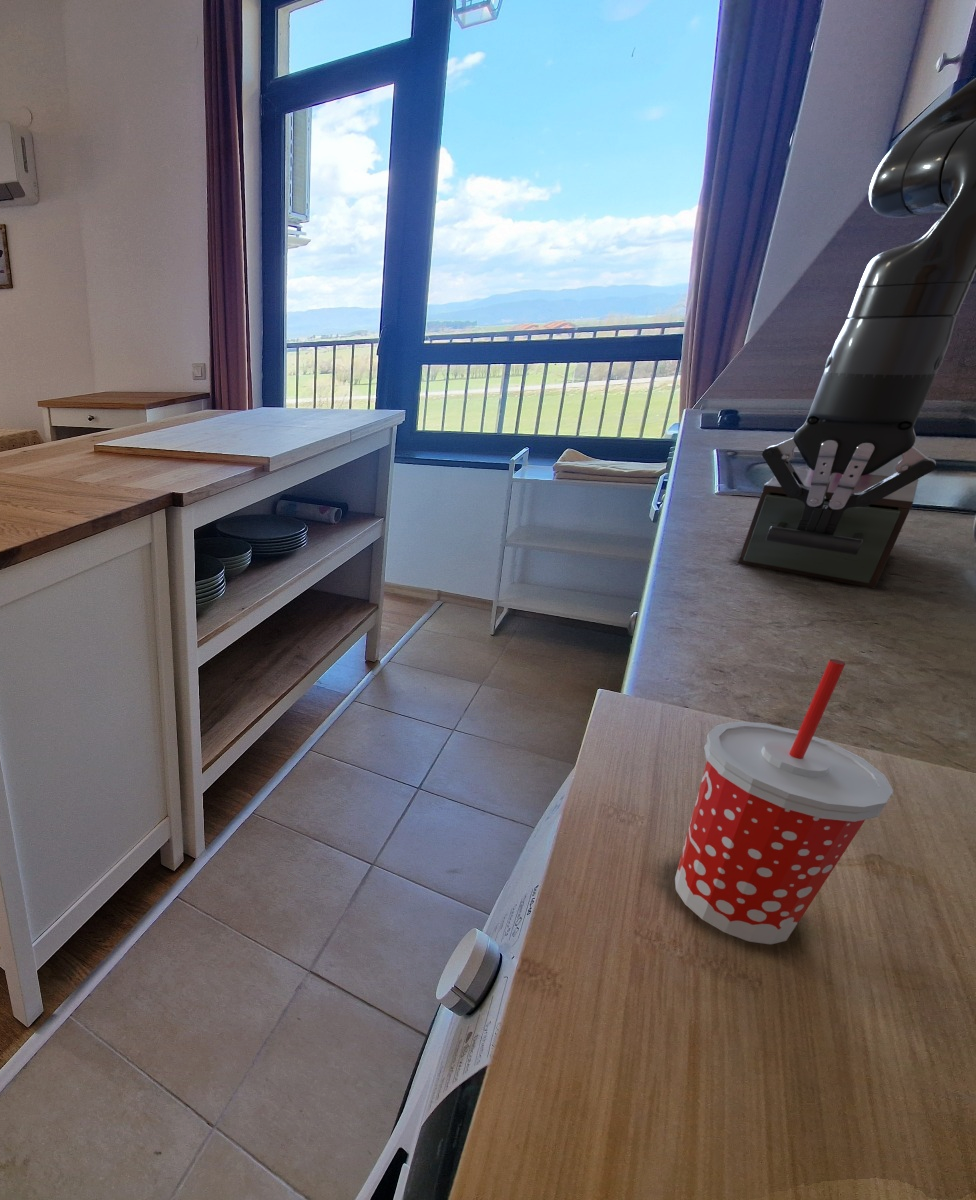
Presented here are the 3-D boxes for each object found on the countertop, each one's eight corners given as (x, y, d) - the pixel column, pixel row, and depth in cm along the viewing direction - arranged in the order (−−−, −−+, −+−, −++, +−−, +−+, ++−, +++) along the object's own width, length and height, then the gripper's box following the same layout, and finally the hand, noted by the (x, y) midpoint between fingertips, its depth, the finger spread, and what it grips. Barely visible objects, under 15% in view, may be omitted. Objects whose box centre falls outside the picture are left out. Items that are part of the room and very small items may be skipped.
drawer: (864, 598, 63) (896, 524, 60) (732, 572, 70) (755, 505, 67) (878, 554, 75) (906, 489, 72) (764, 536, 82) (785, 477, 79)
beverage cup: (702, 844, 35) (790, 620, 30) (842, 931, 30) (980, 679, 25) (629, 879, 33) (710, 645, 28) (766, 979, 28) (899, 716, 23)
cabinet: (874, 588, 68) (913, 501, 64) (737, 563, 76) (764, 484, 72) (884, 556, 76) (918, 478, 73) (760, 537, 84) (785, 466, 81)
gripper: (985, 368, 58) (904, 546, 64) (793, 365, 67) (739, 521, 74) (987, 372, 53) (899, 564, 60) (781, 369, 62) (725, 535, 69)
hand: (811, 540), depth 67 cm, fingers closed
